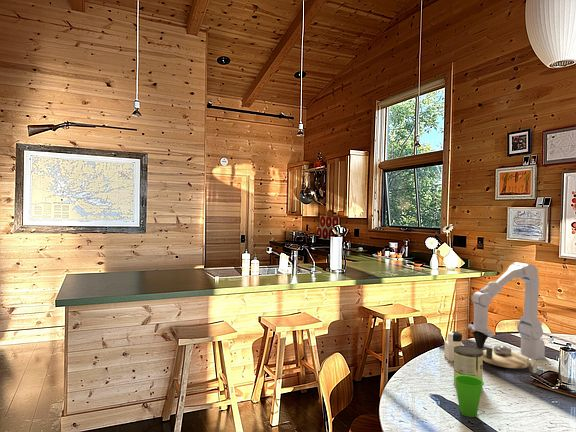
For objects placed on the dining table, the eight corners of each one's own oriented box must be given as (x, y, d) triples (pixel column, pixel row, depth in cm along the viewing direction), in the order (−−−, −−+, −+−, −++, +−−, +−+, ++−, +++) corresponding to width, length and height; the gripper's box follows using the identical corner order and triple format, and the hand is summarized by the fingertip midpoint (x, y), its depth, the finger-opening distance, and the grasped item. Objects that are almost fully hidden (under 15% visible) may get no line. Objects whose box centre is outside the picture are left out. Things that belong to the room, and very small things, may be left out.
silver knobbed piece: (524, 366, 178) (524, 354, 178) (538, 373, 171) (538, 359, 171) (518, 367, 178) (519, 354, 178) (532, 373, 170) (532, 360, 170)
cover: (503, 350, 191) (503, 343, 191) (514, 355, 184) (515, 348, 184) (490, 351, 190) (490, 344, 190) (501, 356, 183) (501, 349, 183)
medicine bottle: (460, 356, 190) (460, 330, 190) (465, 361, 183) (465, 335, 183) (444, 355, 191) (444, 330, 191) (448, 361, 184) (449, 334, 184)
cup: (448, 407, 139) (449, 374, 139) (474, 406, 140) (474, 374, 140) (462, 420, 130) (462, 385, 130) (489, 419, 131) (489, 385, 131)
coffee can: (452, 379, 163) (453, 344, 163) (480, 383, 160) (481, 347, 160) (453, 389, 154) (454, 352, 154) (484, 394, 150) (484, 355, 150)
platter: (506, 351, 195) (507, 339, 195) (541, 366, 175) (542, 353, 175) (470, 353, 190) (470, 342, 190) (501, 369, 171) (502, 356, 171)
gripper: (462, 315, 193) (462, 343, 193) (484, 323, 179) (483, 354, 179) (475, 314, 195) (475, 343, 195) (497, 322, 181) (497, 353, 181)
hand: (480, 348), depth 187 cm, fingers closed
